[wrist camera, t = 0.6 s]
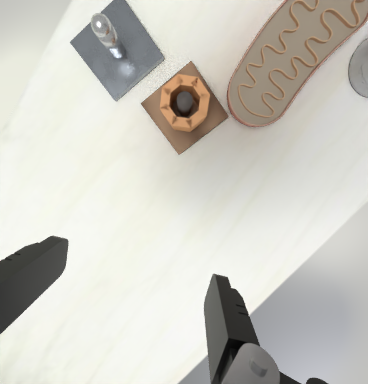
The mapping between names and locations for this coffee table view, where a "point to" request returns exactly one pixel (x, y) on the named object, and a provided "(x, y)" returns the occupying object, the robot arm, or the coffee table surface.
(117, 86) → the silver peg on base
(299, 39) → the anatomical model
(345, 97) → the coffee table surface
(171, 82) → the collar
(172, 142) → the stand
